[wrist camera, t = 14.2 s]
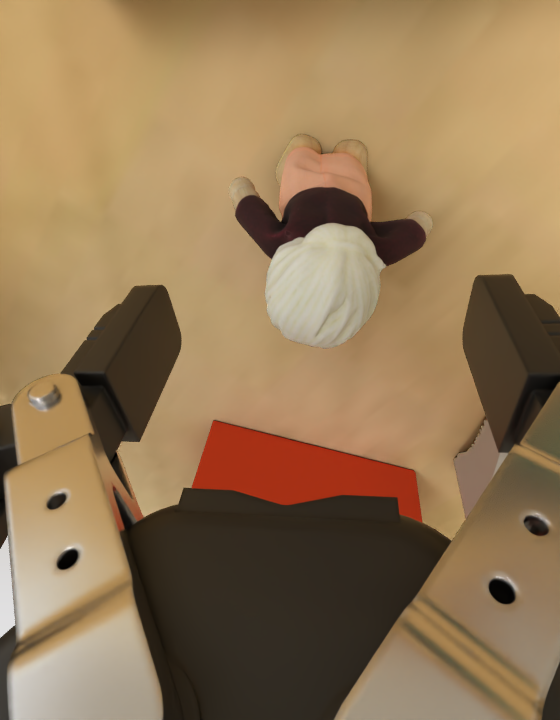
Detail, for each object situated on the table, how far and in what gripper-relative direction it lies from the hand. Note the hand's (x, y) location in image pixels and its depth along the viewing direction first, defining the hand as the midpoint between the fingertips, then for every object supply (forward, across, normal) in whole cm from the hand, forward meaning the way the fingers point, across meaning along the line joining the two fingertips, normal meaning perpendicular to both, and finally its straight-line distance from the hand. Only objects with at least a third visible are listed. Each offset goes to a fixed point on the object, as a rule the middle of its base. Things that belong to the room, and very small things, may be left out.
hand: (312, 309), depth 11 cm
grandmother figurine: (+12, 0, 0) cm, 12 cm away
